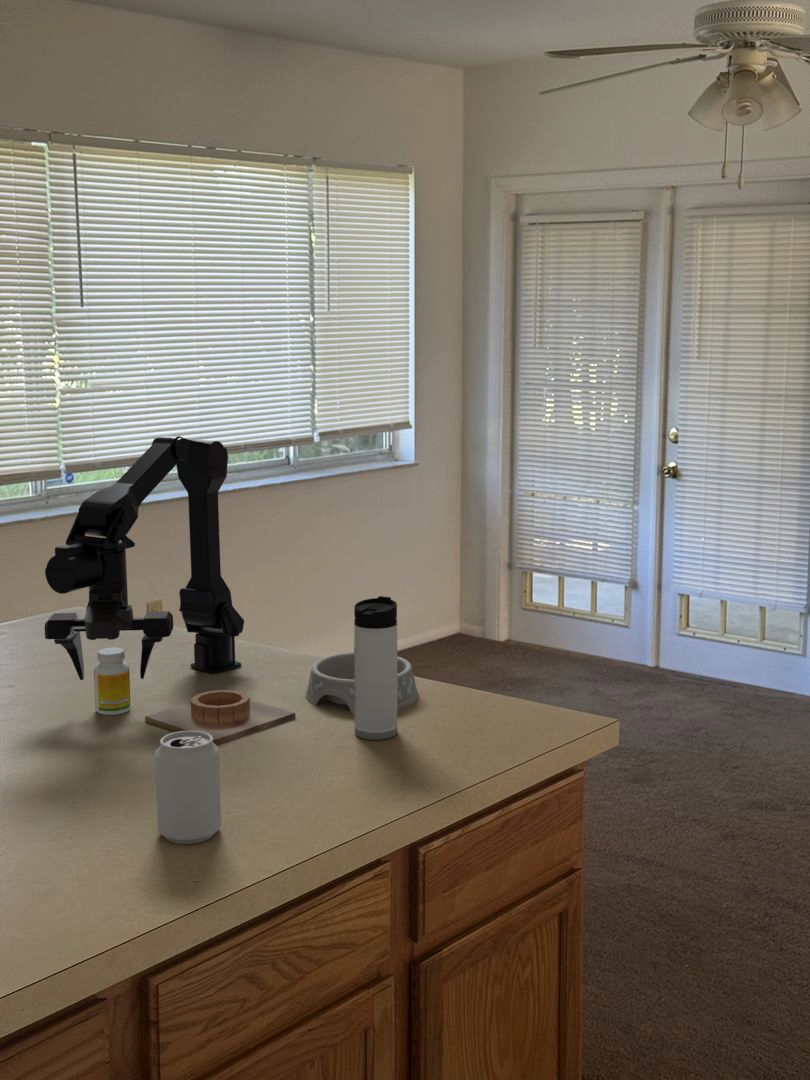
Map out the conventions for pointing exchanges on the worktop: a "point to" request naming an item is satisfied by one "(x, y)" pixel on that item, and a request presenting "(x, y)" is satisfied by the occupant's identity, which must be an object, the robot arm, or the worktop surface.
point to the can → (188, 787)
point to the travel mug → (375, 668)
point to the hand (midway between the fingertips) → (112, 678)
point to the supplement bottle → (112, 682)
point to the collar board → (221, 730)
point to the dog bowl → (353, 681)
